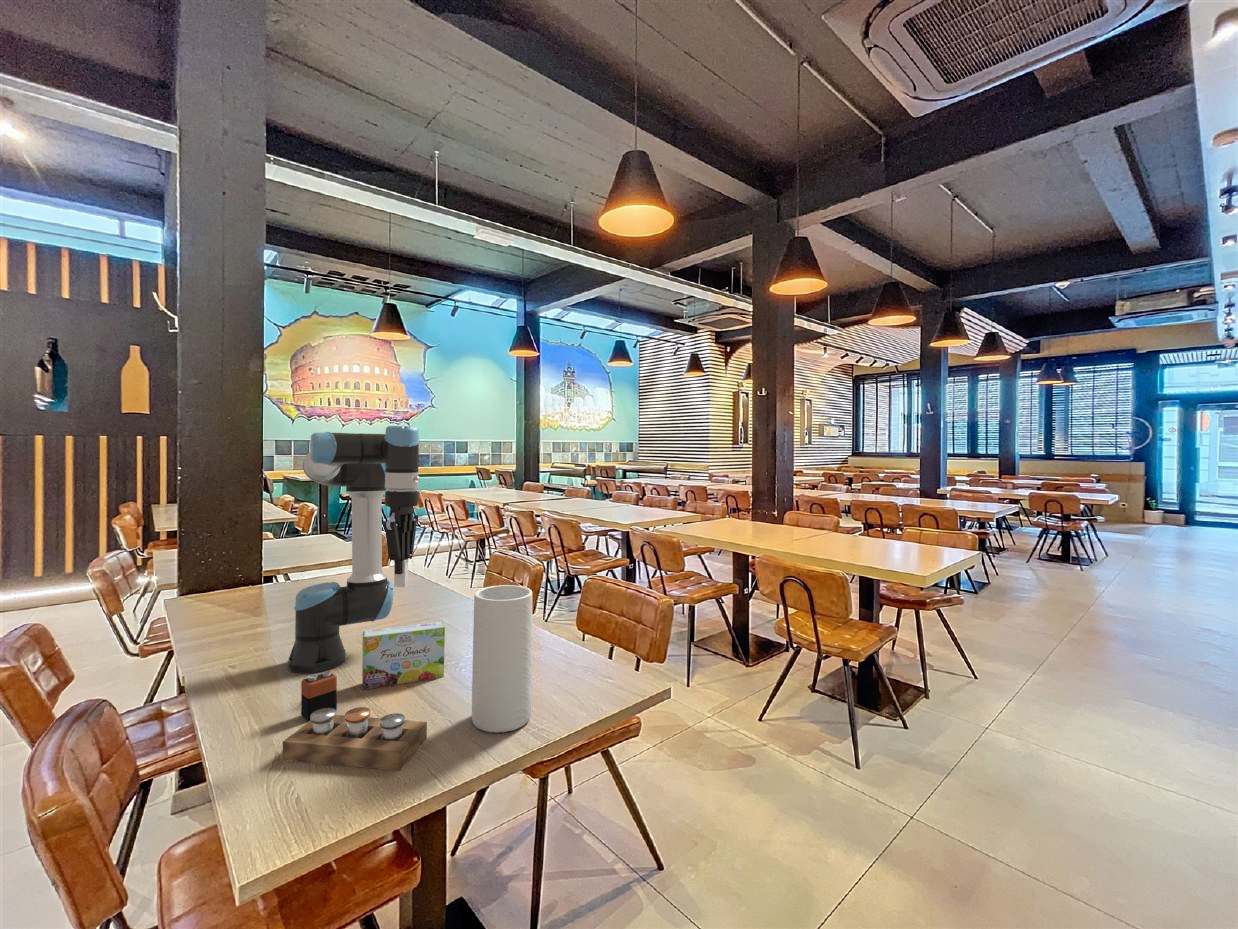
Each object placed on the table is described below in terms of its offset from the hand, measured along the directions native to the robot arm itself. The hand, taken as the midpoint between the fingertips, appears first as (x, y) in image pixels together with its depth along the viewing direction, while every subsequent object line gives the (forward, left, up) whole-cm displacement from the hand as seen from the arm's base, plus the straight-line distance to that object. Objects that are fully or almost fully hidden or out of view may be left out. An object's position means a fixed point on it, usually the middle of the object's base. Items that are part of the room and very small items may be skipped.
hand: (401, 586), depth 132 cm
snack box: (-9, +19, -33) cm, 39 cm away
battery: (-20, -2, -33) cm, 38 cm away
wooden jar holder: (-2, -15, -32) cm, 36 cm away
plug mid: (-2, -15, -31) cm, 34 cm away
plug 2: (+6, -15, -31) cm, 35 cm away
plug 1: (-10, -15, -31) cm, 36 cm away
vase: (+25, +2, -33) cm, 41 cm away
